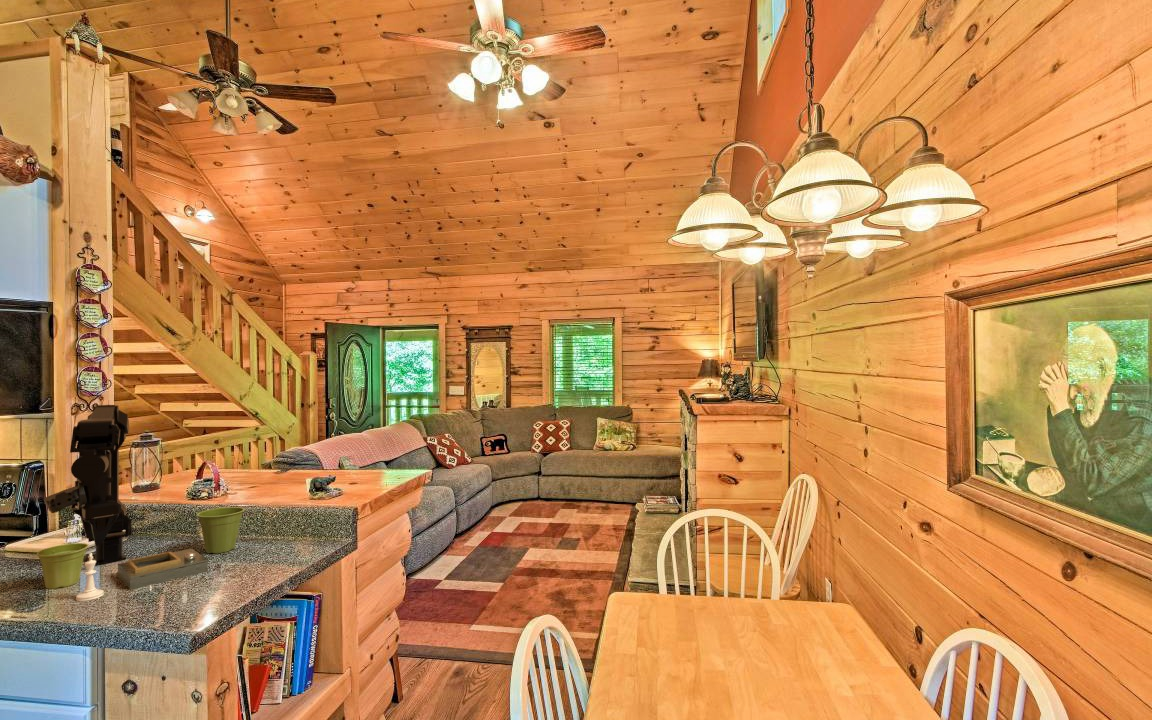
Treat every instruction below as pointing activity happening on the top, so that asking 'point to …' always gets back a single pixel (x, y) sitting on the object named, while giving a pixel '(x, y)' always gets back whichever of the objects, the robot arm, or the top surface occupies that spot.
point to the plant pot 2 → (220, 528)
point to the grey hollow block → (161, 568)
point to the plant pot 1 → (62, 564)
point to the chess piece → (90, 583)
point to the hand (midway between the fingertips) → (93, 541)
